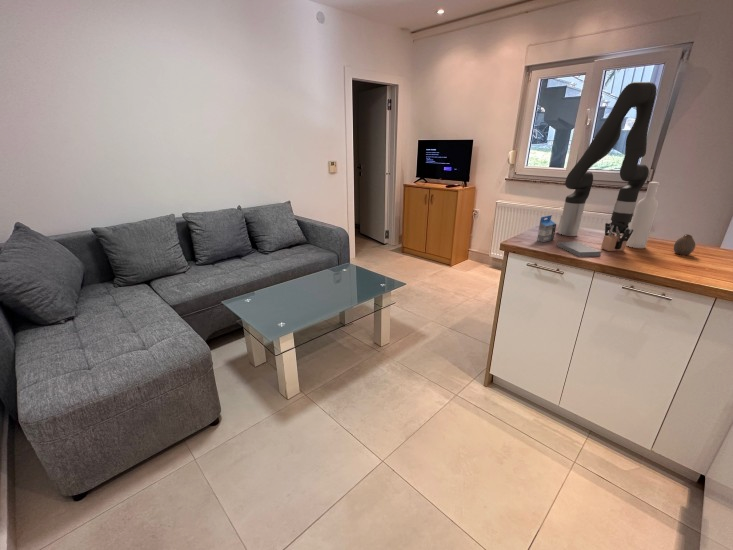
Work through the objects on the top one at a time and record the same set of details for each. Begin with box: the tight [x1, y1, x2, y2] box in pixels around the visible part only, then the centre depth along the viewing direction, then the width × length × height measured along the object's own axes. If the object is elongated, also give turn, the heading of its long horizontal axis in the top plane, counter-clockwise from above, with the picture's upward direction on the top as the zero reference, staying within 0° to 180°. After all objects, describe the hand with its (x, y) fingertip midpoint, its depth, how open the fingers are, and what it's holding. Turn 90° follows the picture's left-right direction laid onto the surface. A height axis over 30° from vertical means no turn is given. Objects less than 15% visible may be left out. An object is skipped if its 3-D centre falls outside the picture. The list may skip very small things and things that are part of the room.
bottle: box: [626, 181, 660, 249], centre depth 155 cm, size 8×8×30 cm
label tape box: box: [536, 214, 557, 243], centre depth 169 cm, size 9×4×12 cm, turn 120°
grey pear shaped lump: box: [673, 234, 696, 256], centre depth 148 cm, size 7×7×9 cm
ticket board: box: [556, 240, 602, 257], centre depth 155 cm, size 16×10×2 cm, turn 5°
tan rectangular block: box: [600, 235, 627, 252], centre depth 155 cm, size 4×8×6 cm, turn 95°
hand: (613, 247), depth 156 cm, fingers closed on tan rectangular block, 4 cm apart
